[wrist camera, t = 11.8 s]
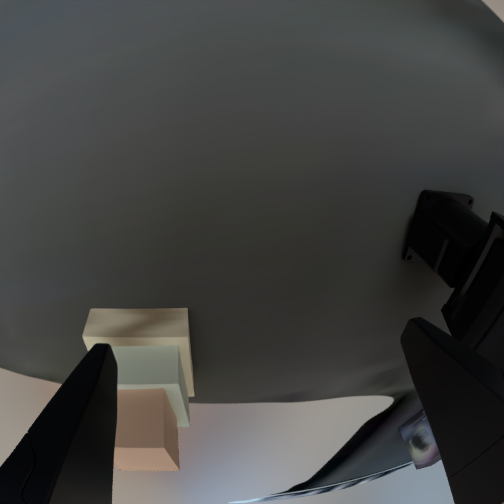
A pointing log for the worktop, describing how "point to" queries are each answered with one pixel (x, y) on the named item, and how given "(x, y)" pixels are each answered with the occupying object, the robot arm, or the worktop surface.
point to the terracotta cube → (146, 431)
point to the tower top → (155, 374)
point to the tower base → (143, 331)
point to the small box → (420, 441)
